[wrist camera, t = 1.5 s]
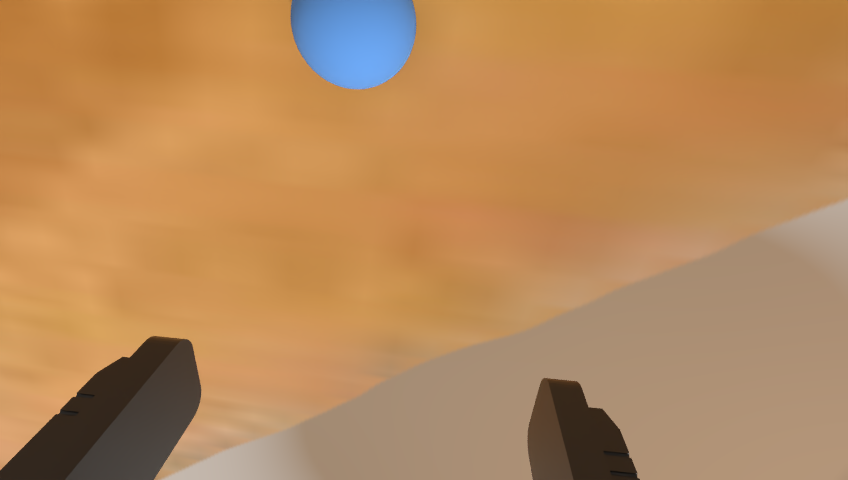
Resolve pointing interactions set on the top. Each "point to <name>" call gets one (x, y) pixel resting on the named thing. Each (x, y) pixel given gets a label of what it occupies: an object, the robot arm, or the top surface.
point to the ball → (354, 38)
